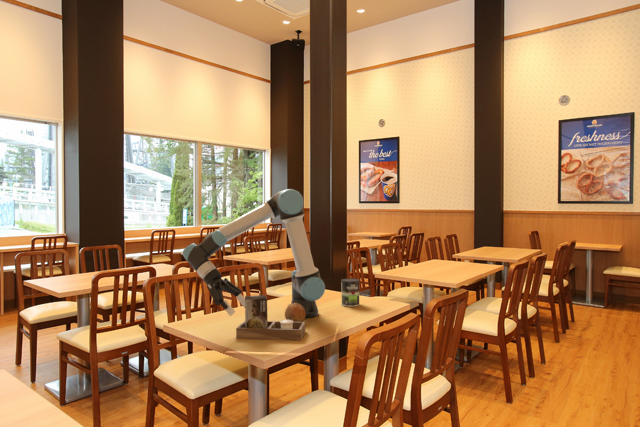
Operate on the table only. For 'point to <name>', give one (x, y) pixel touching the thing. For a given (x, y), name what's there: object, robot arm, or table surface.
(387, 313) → the table surface
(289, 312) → the onion
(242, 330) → the caddy
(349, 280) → the coffee can
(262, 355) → the table surface
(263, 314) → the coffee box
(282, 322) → the cream jug
